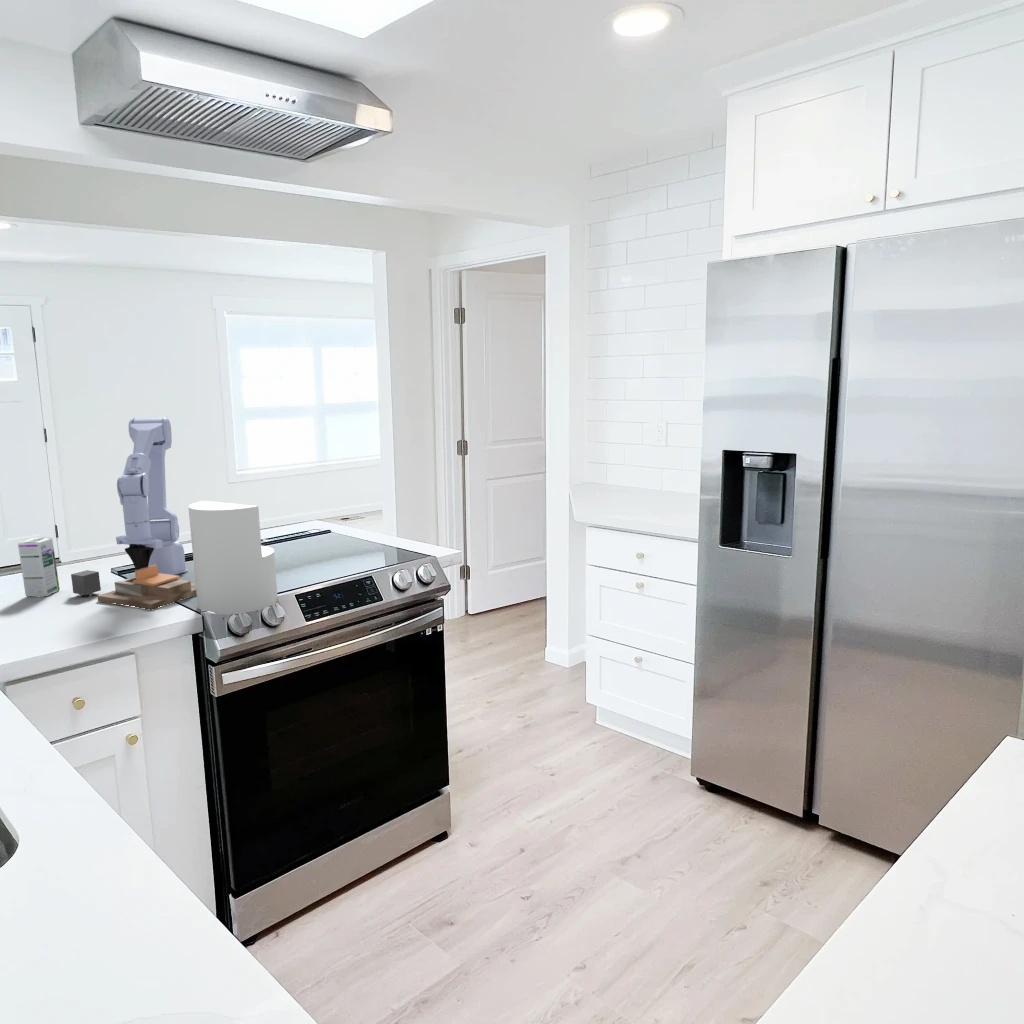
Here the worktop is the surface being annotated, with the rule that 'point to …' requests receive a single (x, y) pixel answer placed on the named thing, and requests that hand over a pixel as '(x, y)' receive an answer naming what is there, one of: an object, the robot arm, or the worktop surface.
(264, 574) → the cylinder
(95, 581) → the plug
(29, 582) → the syrup box
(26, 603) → the worktop surface
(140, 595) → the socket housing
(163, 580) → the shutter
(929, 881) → the worktop surface
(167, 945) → the worktop surface
